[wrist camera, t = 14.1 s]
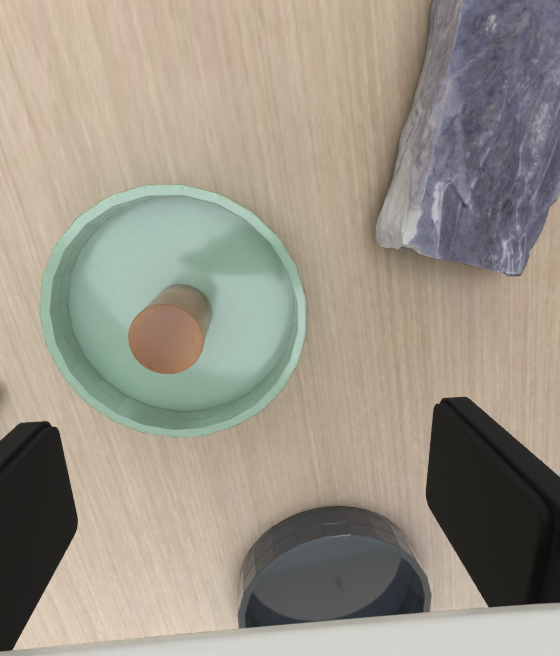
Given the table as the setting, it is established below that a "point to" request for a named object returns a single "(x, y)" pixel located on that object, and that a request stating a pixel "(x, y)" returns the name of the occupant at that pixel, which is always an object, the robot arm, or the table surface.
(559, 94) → the rock
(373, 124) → the table surface
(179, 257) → the green bowl
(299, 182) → the table surface
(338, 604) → the slate bowl
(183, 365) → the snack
